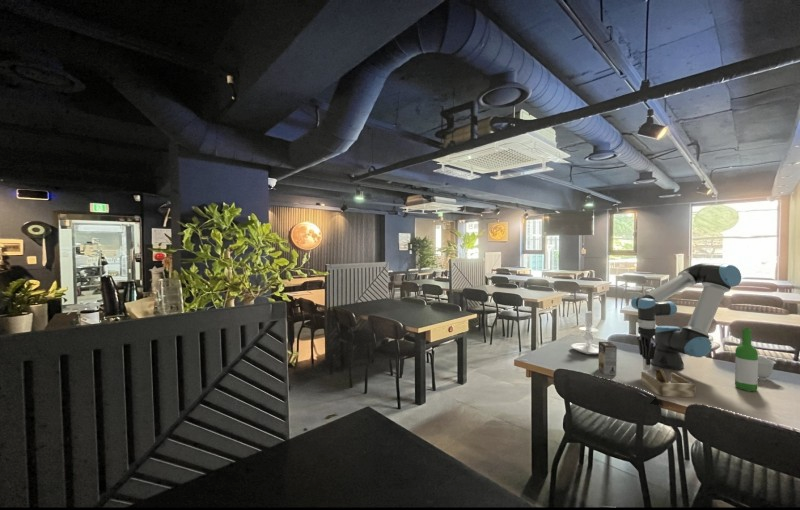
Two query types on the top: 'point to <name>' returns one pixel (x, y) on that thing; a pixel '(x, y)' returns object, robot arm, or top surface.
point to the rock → (661, 376)
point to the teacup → (765, 367)
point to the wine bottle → (746, 364)
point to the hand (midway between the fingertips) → (646, 369)
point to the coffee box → (607, 358)
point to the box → (669, 386)
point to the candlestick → (587, 338)
